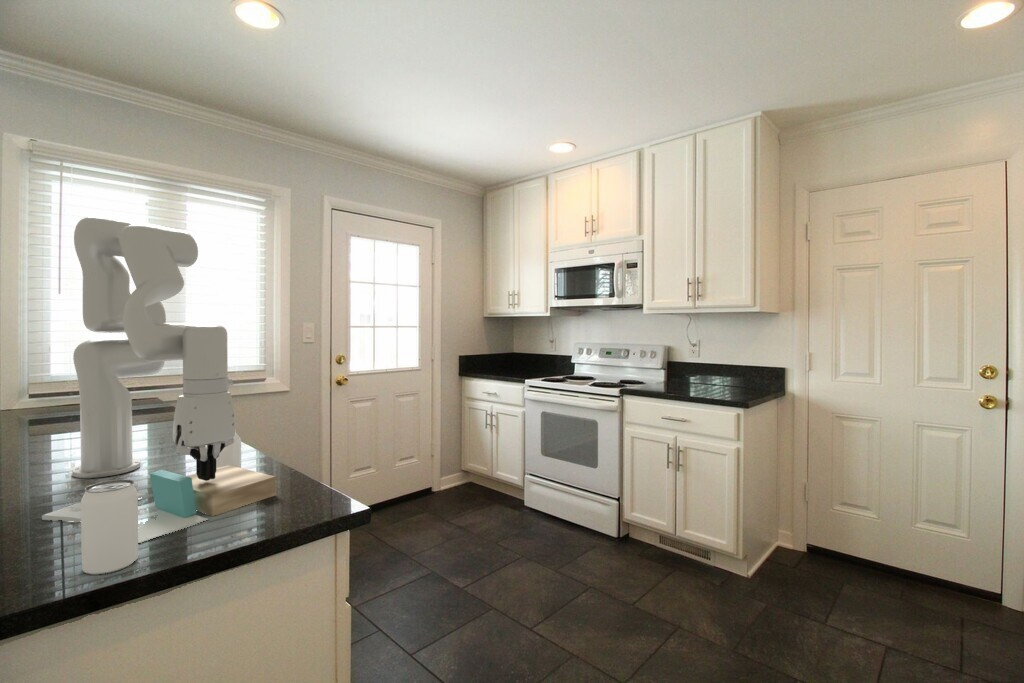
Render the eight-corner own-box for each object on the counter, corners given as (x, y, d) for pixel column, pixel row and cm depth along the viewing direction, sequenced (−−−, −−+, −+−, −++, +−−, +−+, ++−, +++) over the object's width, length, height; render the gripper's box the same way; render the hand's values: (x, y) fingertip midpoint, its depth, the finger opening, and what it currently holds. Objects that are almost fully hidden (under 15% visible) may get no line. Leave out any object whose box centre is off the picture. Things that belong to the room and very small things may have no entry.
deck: (165, 500, 98) (165, 481, 98) (228, 482, 110) (228, 465, 109) (212, 516, 91) (212, 495, 90) (275, 495, 102) (275, 476, 102)
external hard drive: (143, 501, 99) (79, 526, 87) (109, 498, 101) (41, 522, 88) (143, 493, 99) (79, 517, 87) (109, 490, 100) (41, 513, 88)
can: (104, 555, 75) (102, 478, 75) (148, 554, 76) (147, 478, 75) (69, 576, 69) (68, 493, 68) (118, 575, 69) (117, 492, 69)
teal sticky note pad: (166, 503, 95) (155, 508, 94) (161, 469, 94) (149, 473, 93) (196, 513, 91) (185, 518, 89) (191, 477, 90) (179, 481, 88)
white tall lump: (211, 426, 112) (212, 422, 117) (212, 478, 112) (212, 471, 117) (241, 424, 115) (240, 420, 120) (241, 474, 115) (241, 468, 120)
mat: (86, 521, 88) (86, 520, 87) (154, 502, 97) (154, 500, 97) (139, 544, 79) (138, 542, 79) (207, 520, 89) (207, 518, 89)
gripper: (230, 382, 105) (231, 466, 106) (153, 390, 92) (154, 486, 92) (253, 384, 102) (253, 471, 102) (176, 393, 88) (177, 493, 89)
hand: (206, 478), depth 97 cm, fingers closed
